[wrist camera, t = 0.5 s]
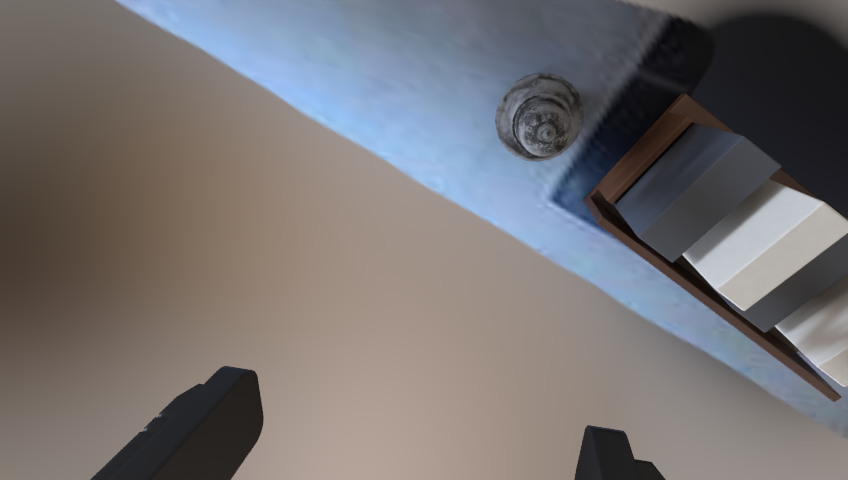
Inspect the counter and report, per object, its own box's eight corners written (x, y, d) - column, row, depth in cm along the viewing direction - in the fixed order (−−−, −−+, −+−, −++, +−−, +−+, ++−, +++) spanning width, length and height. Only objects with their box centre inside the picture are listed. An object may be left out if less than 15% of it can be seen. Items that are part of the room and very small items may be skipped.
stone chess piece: (551, 56, 31) (572, 46, 20) (590, 125, 32) (631, 151, 21) (482, 104, 33) (467, 119, 22) (521, 167, 34) (526, 211, 23)
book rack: (681, 93, 30) (790, 104, 18) (904, 269, 31) (1138, 385, 20) (582, 200, 34) (618, 266, 22) (783, 352, 35) (917, 489, 24)
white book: (711, 155, 30) (824, 201, 19) (732, 172, 30) (857, 227, 19) (647, 217, 33) (715, 290, 22) (667, 232, 33) (744, 312, 22)
